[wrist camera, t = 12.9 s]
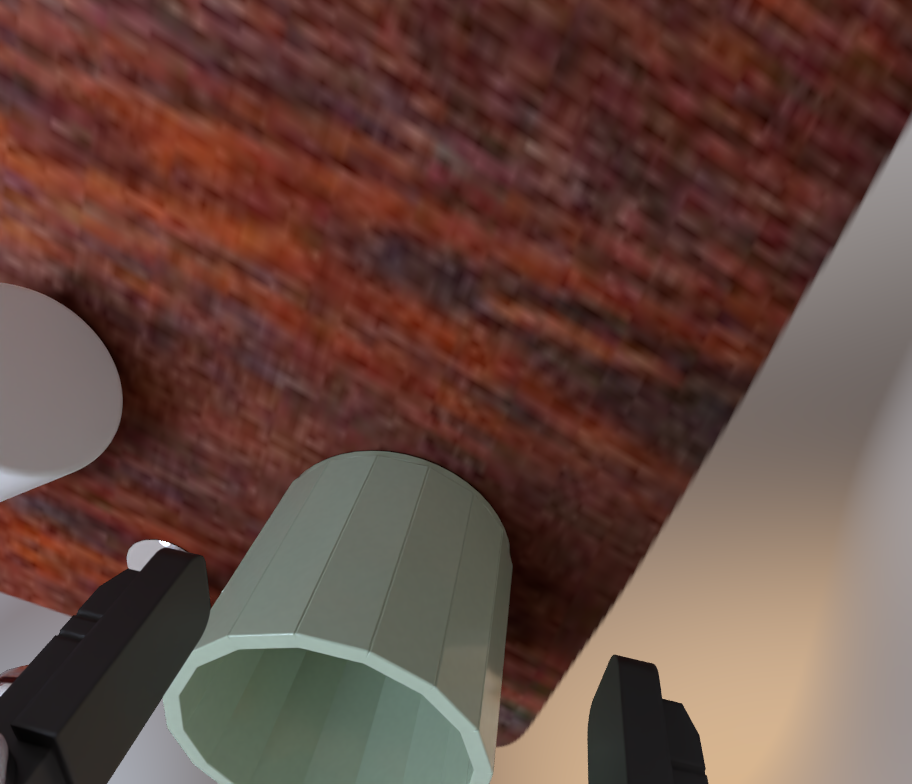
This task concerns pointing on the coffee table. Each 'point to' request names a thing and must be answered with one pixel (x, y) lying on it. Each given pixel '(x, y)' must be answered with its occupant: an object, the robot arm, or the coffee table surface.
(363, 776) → the jar
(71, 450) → the mug
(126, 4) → the coffee table surface
